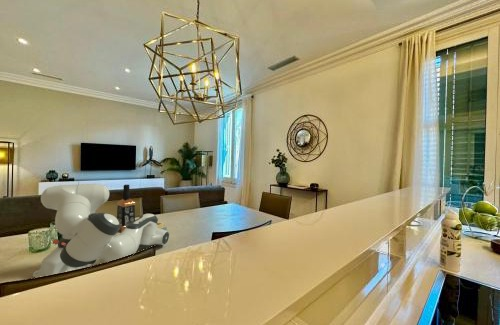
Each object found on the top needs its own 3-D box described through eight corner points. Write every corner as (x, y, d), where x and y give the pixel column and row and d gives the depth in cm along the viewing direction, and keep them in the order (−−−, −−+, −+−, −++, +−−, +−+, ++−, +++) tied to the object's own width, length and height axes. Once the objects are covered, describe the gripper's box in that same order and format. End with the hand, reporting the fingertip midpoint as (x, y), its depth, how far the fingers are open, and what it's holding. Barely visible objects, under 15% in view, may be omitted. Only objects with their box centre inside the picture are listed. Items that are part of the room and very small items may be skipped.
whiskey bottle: (136, 229, 155) (137, 184, 154) (122, 232, 147) (122, 186, 146) (129, 225, 161) (129, 183, 160) (115, 229, 153) (115, 184, 151)
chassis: (152, 235, 144) (152, 228, 144) (137, 231, 150) (137, 225, 149) (167, 228, 157) (167, 222, 157) (153, 225, 163) (153, 219, 162)
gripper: (131, 244, 123) (114, 240, 128) (158, 233, 142) (143, 229, 147) (131, 234, 123) (115, 230, 128) (159, 223, 142) (143, 220, 147)
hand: (130, 229), depth 138 cm, fingers closed on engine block, 5 cm apart
